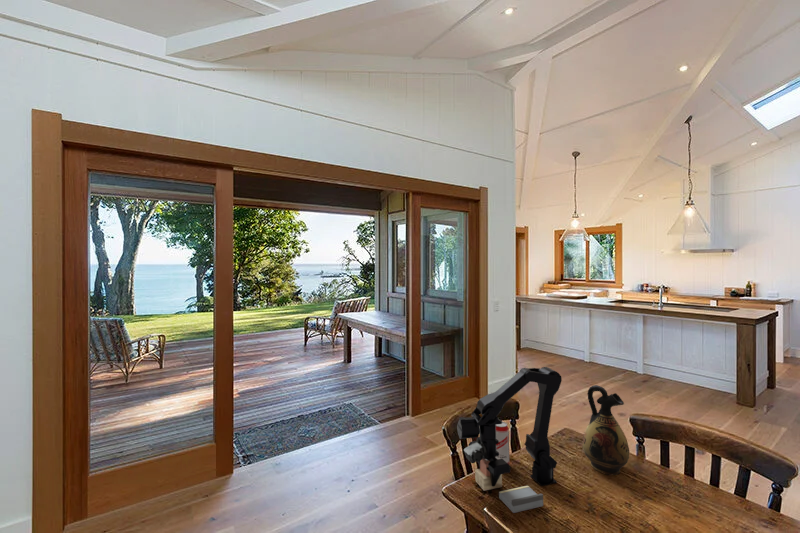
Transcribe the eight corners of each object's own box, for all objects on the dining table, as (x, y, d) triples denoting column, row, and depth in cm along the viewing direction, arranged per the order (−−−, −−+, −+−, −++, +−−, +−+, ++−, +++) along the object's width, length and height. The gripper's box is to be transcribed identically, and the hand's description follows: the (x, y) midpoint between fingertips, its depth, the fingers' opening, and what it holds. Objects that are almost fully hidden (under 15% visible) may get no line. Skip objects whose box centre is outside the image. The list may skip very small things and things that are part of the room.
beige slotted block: (492, 477, 132) (492, 466, 132) (502, 486, 126) (501, 475, 126) (475, 481, 130) (475, 469, 130) (484, 490, 124) (483, 478, 124)
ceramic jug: (636, 468, 137) (634, 388, 137) (620, 484, 127) (619, 398, 127) (589, 451, 150) (587, 378, 150) (571, 465, 140) (570, 386, 140)
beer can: (510, 470, 137) (509, 427, 137) (493, 469, 138) (492, 426, 138) (508, 462, 143) (508, 421, 143) (492, 460, 144) (491, 419, 144)
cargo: (490, 468, 131) (490, 457, 131) (496, 474, 127) (496, 462, 127) (480, 470, 129) (480, 459, 129) (486, 476, 126) (486, 464, 126)
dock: (527, 491, 124) (527, 481, 124) (543, 505, 116) (543, 494, 116) (499, 497, 121) (498, 487, 121) (513, 513, 113) (513, 501, 113)
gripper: (455, 428, 135) (455, 471, 135) (480, 452, 117) (481, 501, 117) (482, 424, 138) (482, 465, 138) (510, 446, 120) (511, 494, 120)
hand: (488, 480), depth 128 cm, fingers closed on beige slotted block, 6 cm apart
